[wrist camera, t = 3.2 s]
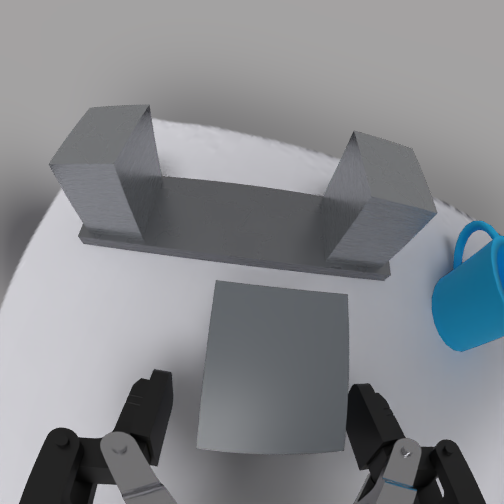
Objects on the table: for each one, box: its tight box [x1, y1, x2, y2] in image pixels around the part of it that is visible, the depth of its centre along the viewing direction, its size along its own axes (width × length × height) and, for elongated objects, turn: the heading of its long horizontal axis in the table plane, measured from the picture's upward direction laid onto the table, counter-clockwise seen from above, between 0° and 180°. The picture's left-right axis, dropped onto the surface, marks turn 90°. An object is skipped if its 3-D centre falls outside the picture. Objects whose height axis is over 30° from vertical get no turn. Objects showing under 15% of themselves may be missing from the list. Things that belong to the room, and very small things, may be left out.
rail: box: [49, 105, 437, 281], centre depth 19 cm, size 26×7×9 cm, turn 85°
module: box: [196, 280, 349, 454], centre depth 13 cm, size 5×6×10 cm
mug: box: [432, 221, 504, 352], centre depth 19 cm, size 12×8×8 cm
